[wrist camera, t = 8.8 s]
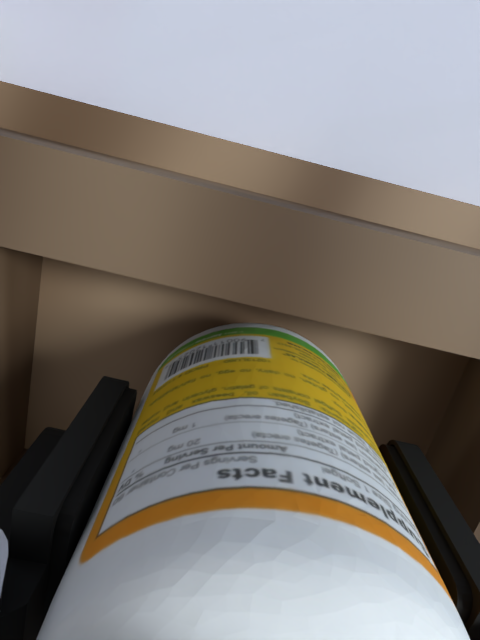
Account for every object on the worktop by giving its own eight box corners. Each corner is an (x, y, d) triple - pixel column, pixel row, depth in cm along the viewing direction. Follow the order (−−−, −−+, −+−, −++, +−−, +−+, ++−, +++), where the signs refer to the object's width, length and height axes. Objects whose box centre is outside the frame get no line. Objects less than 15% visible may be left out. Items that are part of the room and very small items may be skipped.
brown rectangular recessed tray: (627, 247, 13) (816, 287, 9) (453, 574, 17) (523, 709, 13) (-73, 64, 11) (-259, 4, 7) (-77, 469, 16) (-196, 582, 11)
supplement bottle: (277, 526, 13) (361, 1434, 4) (110, 442, 12) (-339, 1359, 3) (392, 384, 11) (1043, 1331, 2) (210, 276, 10) (-39, 1087, 1)
